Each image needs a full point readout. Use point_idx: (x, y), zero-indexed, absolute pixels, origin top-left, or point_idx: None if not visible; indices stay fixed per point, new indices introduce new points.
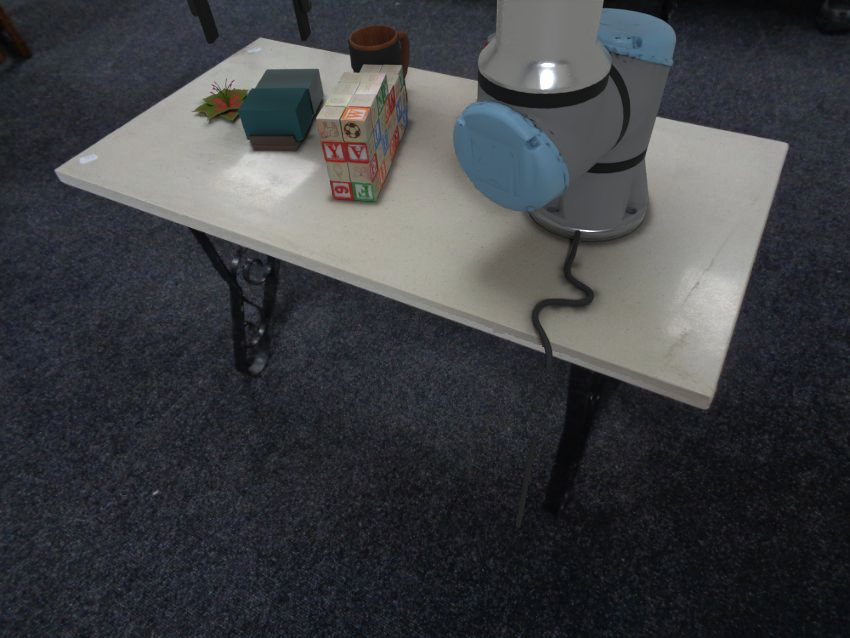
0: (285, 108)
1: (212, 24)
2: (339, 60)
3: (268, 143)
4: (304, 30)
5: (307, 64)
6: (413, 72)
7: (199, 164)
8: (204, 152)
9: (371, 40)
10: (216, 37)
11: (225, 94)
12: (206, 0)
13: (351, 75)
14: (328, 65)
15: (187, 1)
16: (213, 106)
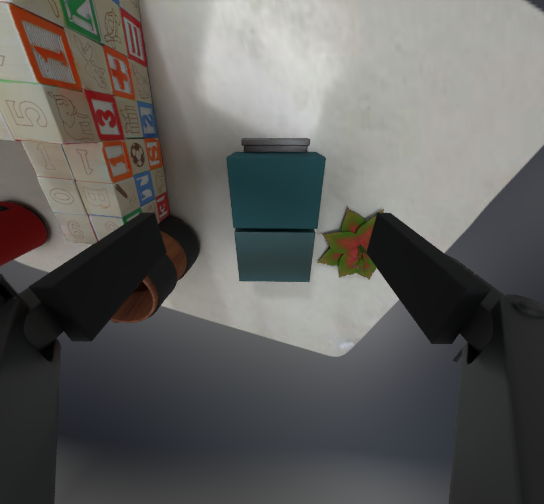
0: (245, 164)
1: (383, 257)
2: (253, 327)
3: (281, 138)
4: (128, 222)
5: (285, 321)
6: (168, 305)
7: (383, 95)
8: (379, 133)
9: (149, 305)
10: (371, 240)
11: (366, 267)
12: (409, 303)
13: (33, 125)
14: (262, 319)
15: (482, 280)
16: None
